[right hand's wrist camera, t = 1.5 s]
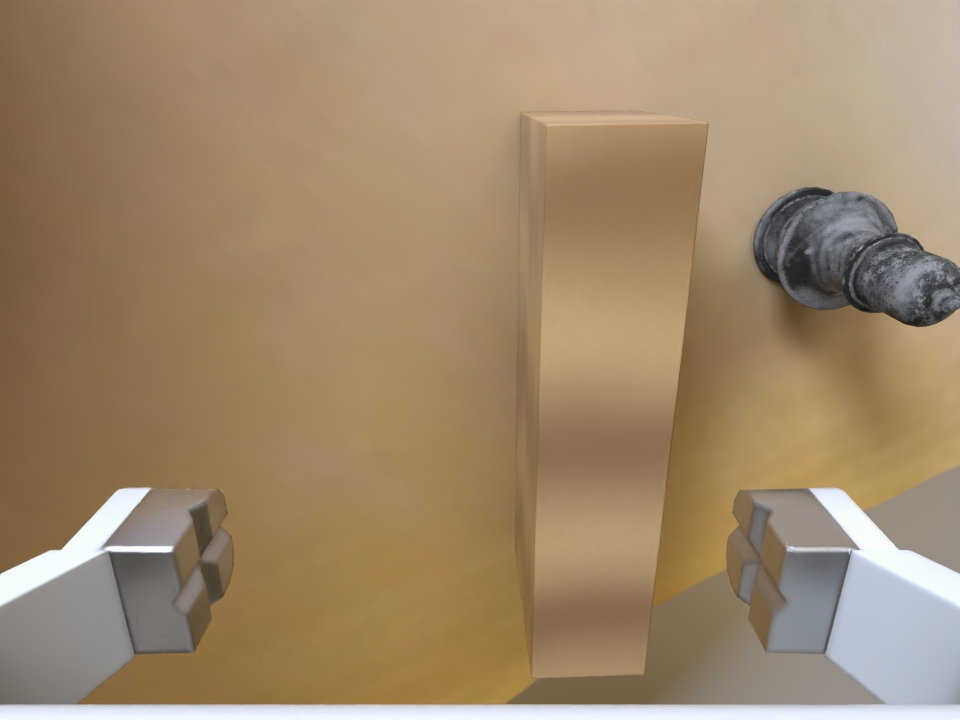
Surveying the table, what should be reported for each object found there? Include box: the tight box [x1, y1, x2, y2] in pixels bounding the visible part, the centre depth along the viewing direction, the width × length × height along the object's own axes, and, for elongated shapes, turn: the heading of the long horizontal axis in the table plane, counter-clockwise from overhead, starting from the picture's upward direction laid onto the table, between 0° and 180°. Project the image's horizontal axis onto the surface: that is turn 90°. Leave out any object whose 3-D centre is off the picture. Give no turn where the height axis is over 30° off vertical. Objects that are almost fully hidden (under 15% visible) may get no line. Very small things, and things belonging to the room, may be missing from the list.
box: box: [515, 111, 709, 679], centre depth 33 cm, size 27×6×10 cm, turn 1°
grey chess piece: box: [754, 187, 960, 327], centre depth 30 cm, size 6×6×12 cm
